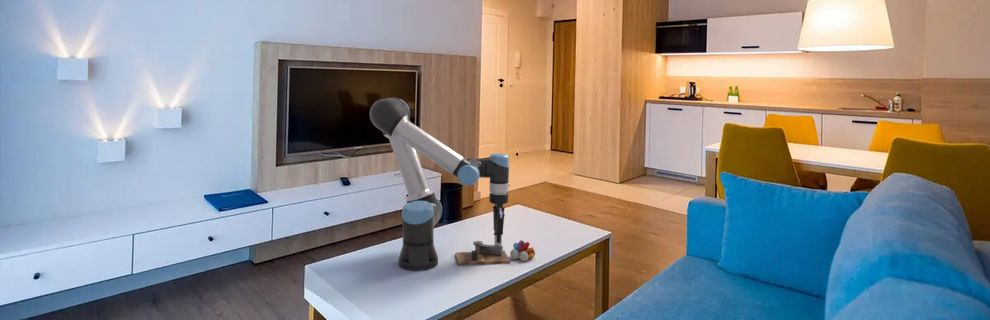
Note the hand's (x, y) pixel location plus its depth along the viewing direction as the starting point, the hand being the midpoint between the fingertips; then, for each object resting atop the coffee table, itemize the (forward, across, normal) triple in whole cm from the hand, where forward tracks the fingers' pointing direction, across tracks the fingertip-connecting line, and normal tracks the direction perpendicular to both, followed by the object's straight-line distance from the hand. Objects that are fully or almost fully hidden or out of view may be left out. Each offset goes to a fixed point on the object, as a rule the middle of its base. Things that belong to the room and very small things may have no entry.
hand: (497, 249), depth 215 cm
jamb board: (+2, -4, +7) cm, 8 cm away
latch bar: (+1, -1, +3) cm, 3 cm away
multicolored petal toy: (+3, -5, -9) cm, 11 cm away
